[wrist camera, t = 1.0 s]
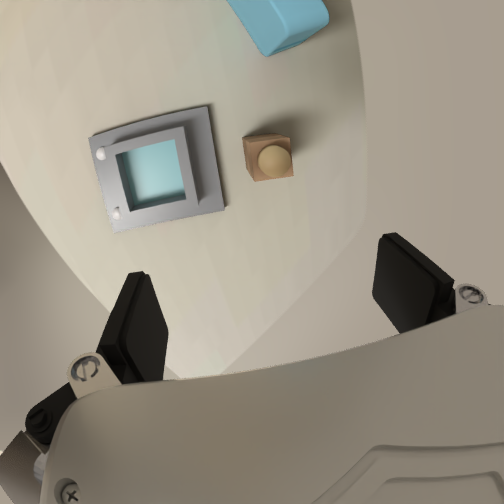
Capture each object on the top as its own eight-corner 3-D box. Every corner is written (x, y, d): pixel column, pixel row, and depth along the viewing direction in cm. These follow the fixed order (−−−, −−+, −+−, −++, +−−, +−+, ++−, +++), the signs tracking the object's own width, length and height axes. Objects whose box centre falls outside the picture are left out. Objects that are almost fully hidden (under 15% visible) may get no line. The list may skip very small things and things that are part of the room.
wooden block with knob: (242, 137, 32) (251, 144, 25) (274, 133, 32) (293, 139, 25) (246, 168, 34) (257, 185, 26) (278, 164, 34) (297, 179, 27)
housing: (91, 137, 29) (79, 140, 26) (207, 106, 30) (206, 105, 27) (116, 230, 35) (108, 241, 32) (224, 207, 36) (225, 217, 33)
